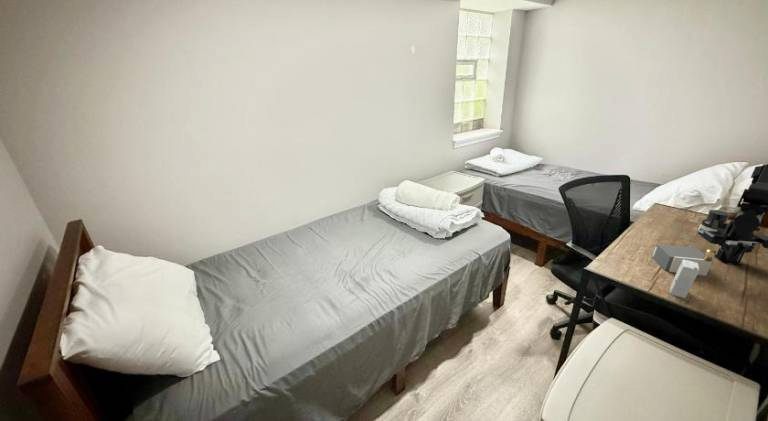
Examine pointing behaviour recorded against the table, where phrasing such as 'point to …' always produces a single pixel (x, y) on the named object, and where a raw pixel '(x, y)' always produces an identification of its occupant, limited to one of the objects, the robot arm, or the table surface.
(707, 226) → the ink bottle
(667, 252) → the case
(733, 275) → the table surface
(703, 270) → the side door
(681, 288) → the skincare box
